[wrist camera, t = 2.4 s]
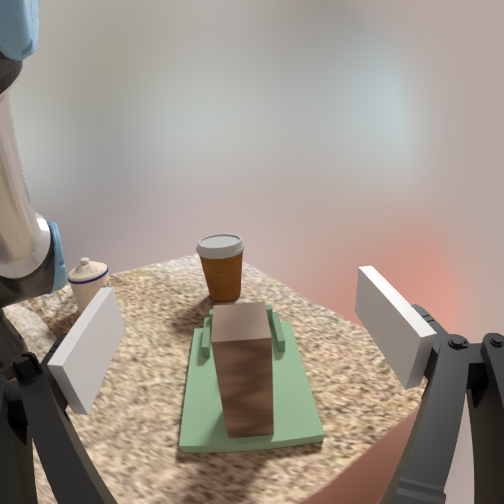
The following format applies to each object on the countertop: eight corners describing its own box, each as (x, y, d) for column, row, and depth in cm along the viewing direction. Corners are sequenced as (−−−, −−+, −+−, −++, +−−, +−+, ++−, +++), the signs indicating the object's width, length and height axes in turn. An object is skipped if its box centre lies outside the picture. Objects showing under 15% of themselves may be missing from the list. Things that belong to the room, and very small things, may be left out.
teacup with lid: (112, 318, 57) (98, 265, 53) (73, 321, 56) (57, 270, 51) (122, 291, 68) (112, 244, 64) (88, 295, 67) (76, 249, 62)
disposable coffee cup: (254, 300, 62) (251, 243, 58) (208, 310, 59) (200, 252, 55) (239, 281, 71) (235, 230, 66) (198, 289, 68) (191, 237, 63)
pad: (182, 452, 29) (171, 428, 27) (195, 335, 52) (191, 310, 50) (323, 441, 30) (327, 415, 28) (289, 327, 52) (289, 302, 51)
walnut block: (228, 438, 30) (210, 342, 25) (227, 400, 35) (213, 305, 30) (273, 434, 30) (271, 337, 25) (268, 397, 36) (264, 301, 31)
